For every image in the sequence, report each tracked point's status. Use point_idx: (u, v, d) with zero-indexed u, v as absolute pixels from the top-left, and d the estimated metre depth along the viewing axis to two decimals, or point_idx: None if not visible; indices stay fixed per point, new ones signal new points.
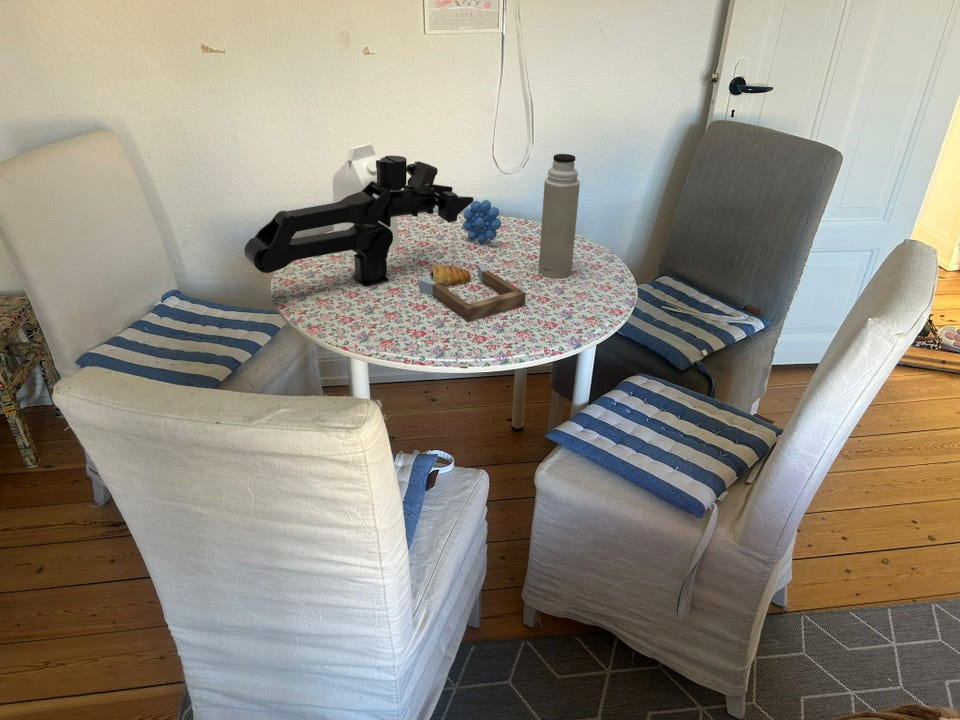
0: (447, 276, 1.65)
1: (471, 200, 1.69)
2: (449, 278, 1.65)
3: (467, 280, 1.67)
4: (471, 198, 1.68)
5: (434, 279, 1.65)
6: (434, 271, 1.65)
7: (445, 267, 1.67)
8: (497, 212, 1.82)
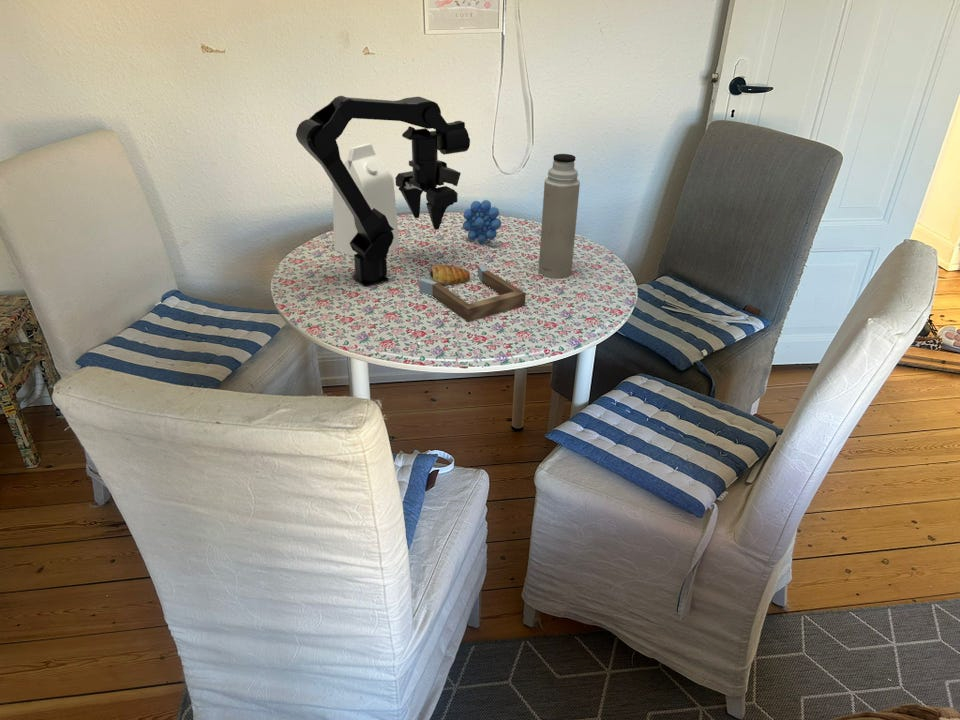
0: (446, 276, 1.65)
1: (437, 227, 1.66)
2: (449, 277, 1.65)
3: (466, 279, 1.68)
4: (438, 227, 1.66)
5: (434, 279, 1.65)
6: (434, 271, 1.65)
7: (444, 267, 1.67)
8: (497, 212, 1.82)
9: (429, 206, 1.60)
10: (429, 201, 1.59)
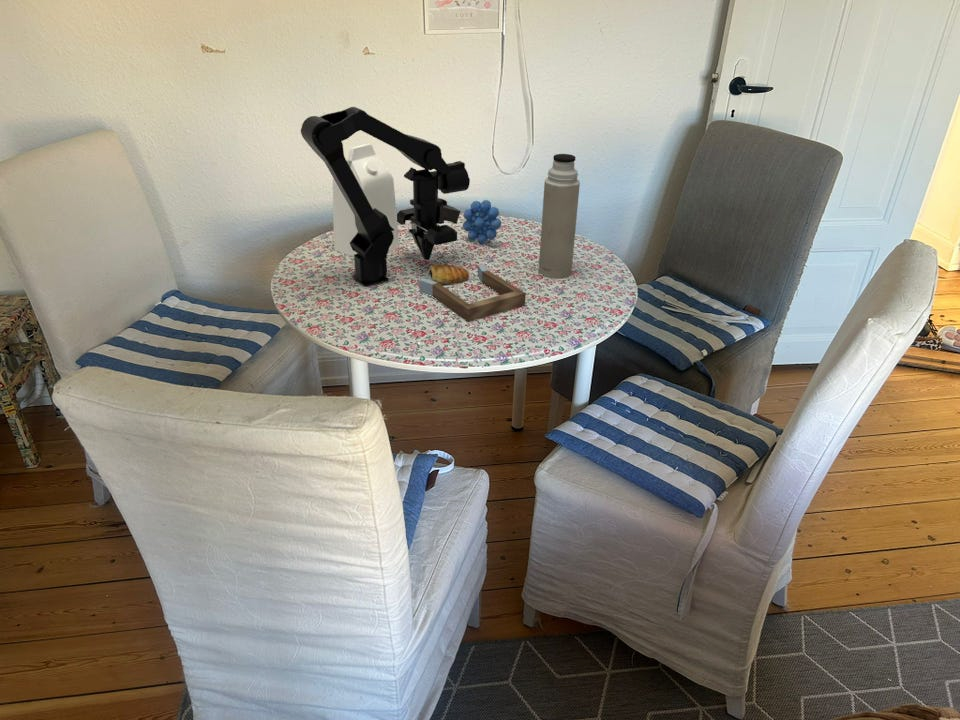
0: (445, 275, 1.66)
1: (427, 257, 1.73)
2: (448, 276, 1.66)
3: (465, 278, 1.68)
4: (429, 257, 1.74)
5: (433, 278, 1.65)
6: (433, 270, 1.66)
7: (443, 266, 1.68)
8: (497, 212, 1.82)
9: (420, 238, 1.68)
10: (429, 240, 1.64)
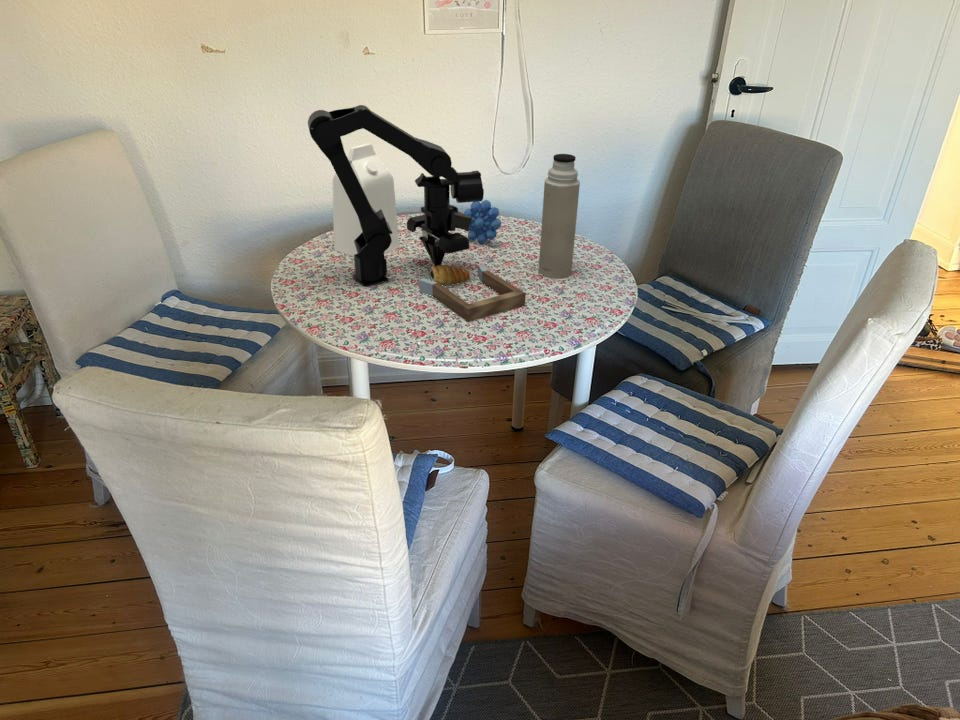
0: (447, 276, 1.65)
1: None
2: (450, 277, 1.66)
3: (467, 279, 1.68)
4: None
5: (435, 279, 1.65)
6: (434, 271, 1.66)
7: (445, 267, 1.67)
8: (497, 212, 1.82)
9: (431, 246, 1.65)
10: (441, 248, 1.61)
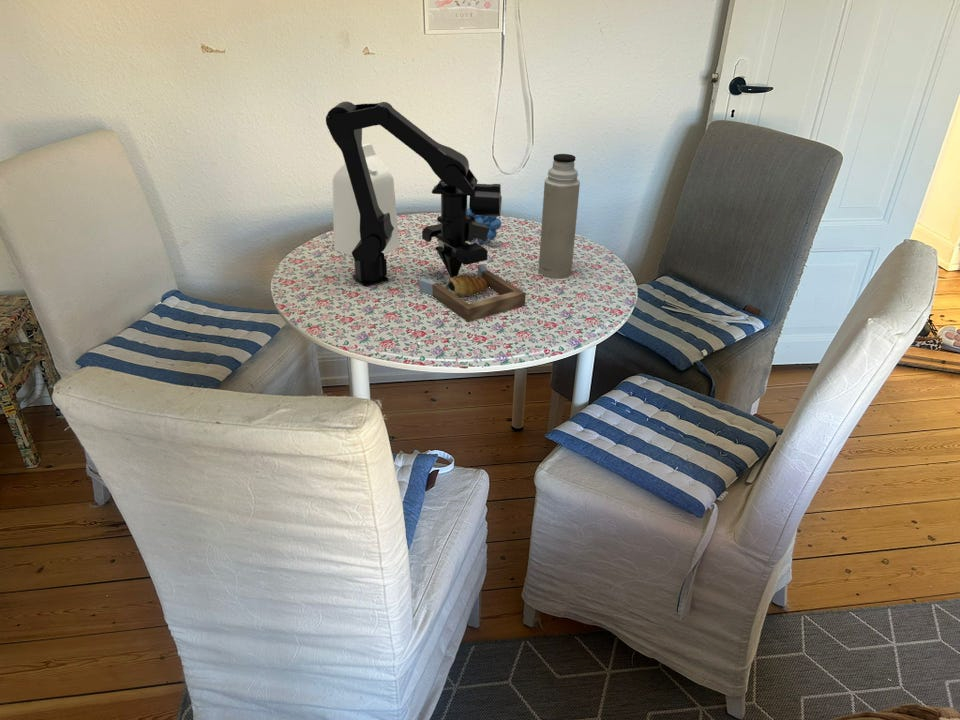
0: (468, 286, 1.61)
1: None
2: (471, 287, 1.61)
3: (486, 287, 1.64)
4: None
5: (456, 290, 1.60)
6: (455, 282, 1.60)
7: (463, 277, 1.62)
8: None
9: (447, 257, 1.60)
10: (459, 259, 1.56)
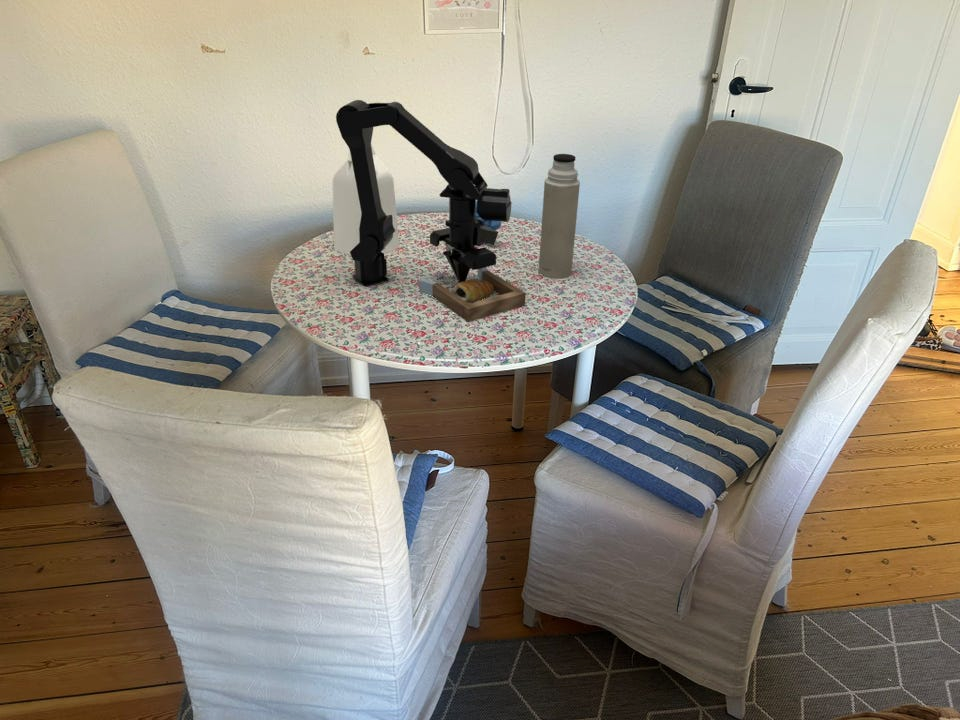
0: (479, 291, 1.59)
1: (462, 281, 1.63)
2: (481, 292, 1.59)
3: (493, 290, 1.63)
4: None
5: (468, 296, 1.57)
6: (465, 288, 1.58)
7: (471, 282, 1.60)
8: None
9: (456, 262, 1.57)
10: (467, 264, 1.53)
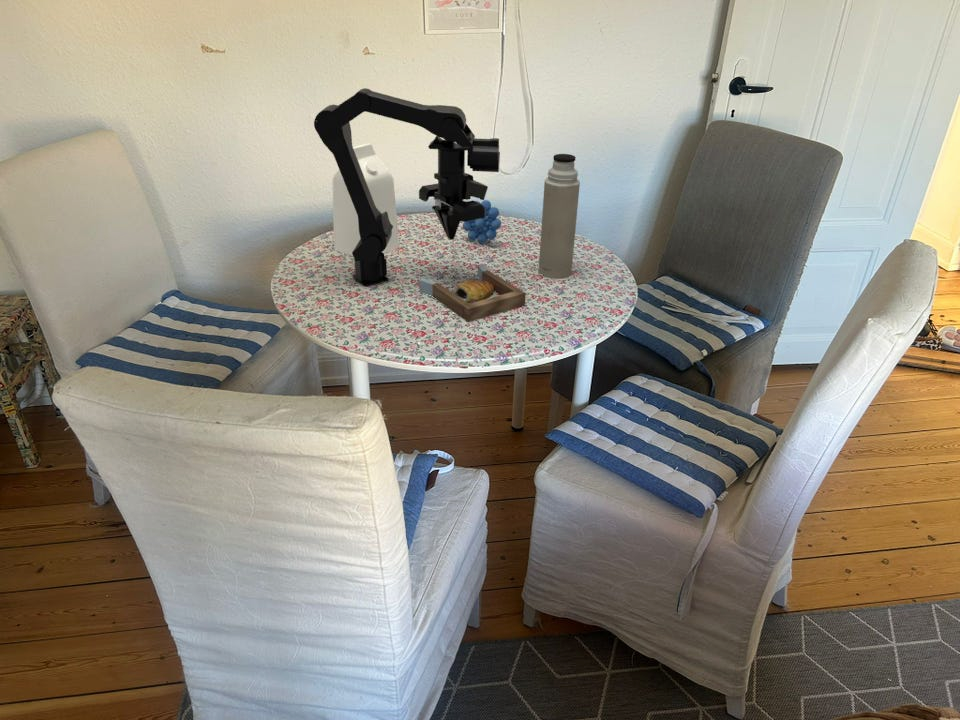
0: (479, 291, 1.58)
1: (452, 237, 1.61)
2: (482, 292, 1.59)
3: None
4: (453, 236, 1.61)
5: (469, 297, 1.57)
6: (466, 289, 1.57)
7: (471, 282, 1.60)
8: (497, 212, 1.82)
9: (444, 215, 1.55)
10: (456, 216, 1.51)
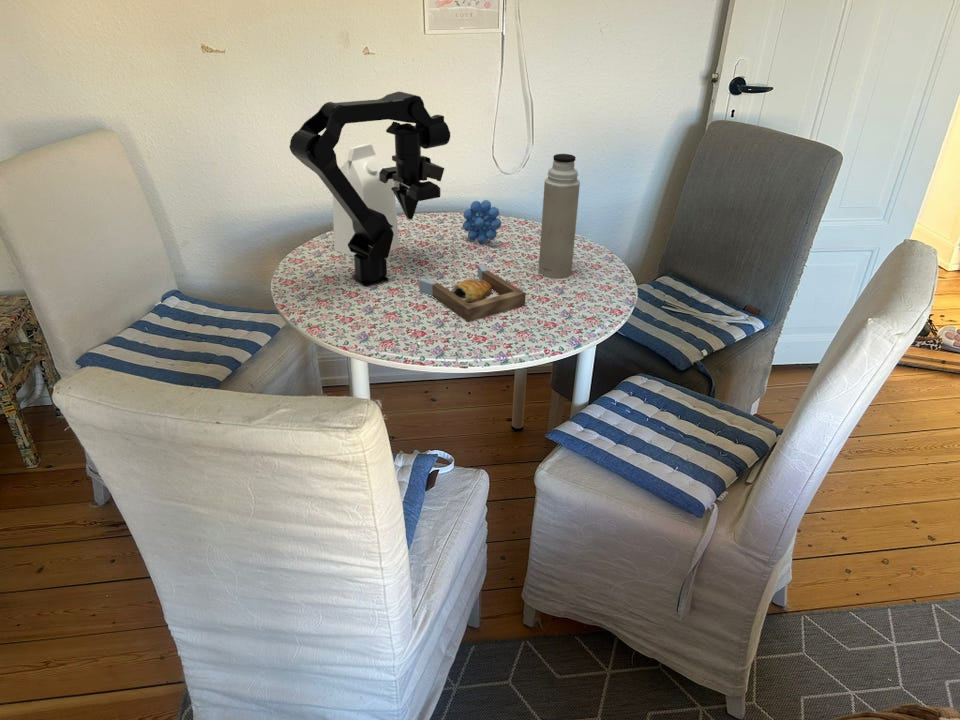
0: (478, 291, 1.59)
1: (410, 216, 1.69)
2: (480, 292, 1.59)
3: (490, 290, 1.63)
4: (412, 216, 1.69)
5: (468, 296, 1.57)
6: (464, 288, 1.57)
7: (469, 282, 1.60)
8: (497, 212, 1.82)
9: (402, 196, 1.63)
10: (412, 196, 1.59)
